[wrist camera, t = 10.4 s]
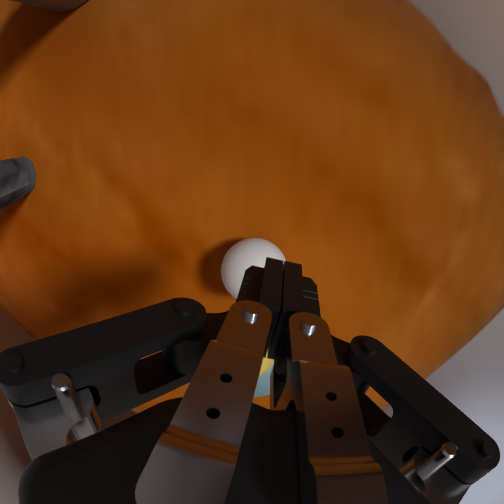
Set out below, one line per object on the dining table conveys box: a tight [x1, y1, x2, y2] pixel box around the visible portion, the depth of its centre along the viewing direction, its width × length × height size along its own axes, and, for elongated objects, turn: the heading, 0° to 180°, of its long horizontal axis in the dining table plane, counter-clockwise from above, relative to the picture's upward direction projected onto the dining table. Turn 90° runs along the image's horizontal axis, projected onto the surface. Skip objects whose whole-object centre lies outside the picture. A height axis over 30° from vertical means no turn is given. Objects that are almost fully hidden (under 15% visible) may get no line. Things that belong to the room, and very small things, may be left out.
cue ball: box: [221, 238, 286, 299], centre depth 25 cm, size 6×6×6 cm
